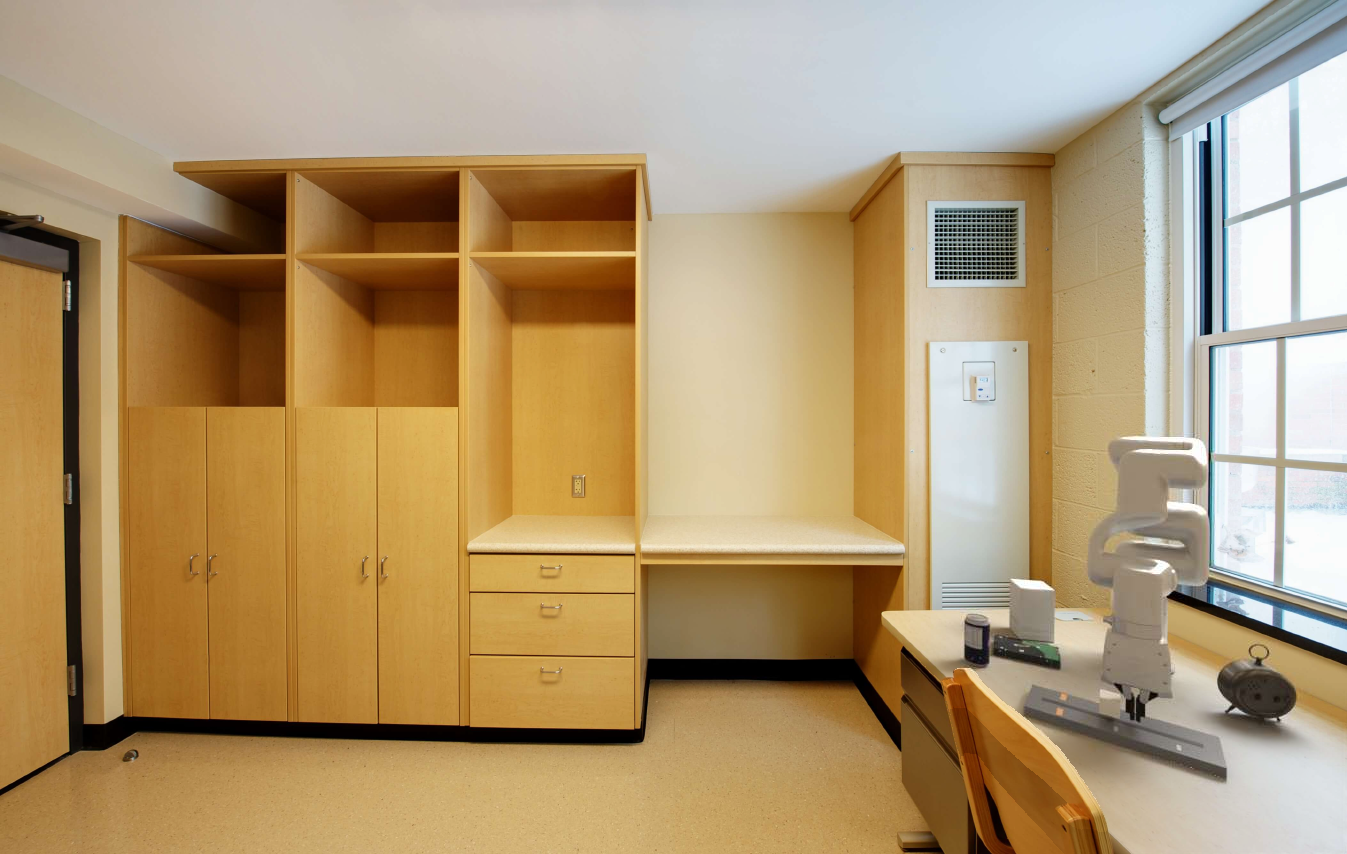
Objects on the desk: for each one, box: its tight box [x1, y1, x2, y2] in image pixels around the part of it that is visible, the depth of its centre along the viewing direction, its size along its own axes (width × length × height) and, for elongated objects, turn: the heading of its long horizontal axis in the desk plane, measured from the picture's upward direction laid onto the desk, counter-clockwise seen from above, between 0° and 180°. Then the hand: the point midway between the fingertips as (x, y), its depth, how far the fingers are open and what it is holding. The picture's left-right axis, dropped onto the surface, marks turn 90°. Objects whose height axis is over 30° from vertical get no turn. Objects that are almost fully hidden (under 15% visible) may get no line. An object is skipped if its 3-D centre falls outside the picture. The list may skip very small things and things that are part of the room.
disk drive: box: [992, 634, 1062, 670], centre depth 140 cm, size 10×3×15 cm
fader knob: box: [1098, 688, 1122, 719], centre depth 107 cm, size 4×3×4 cm
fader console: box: [1023, 683, 1228, 780], centre depth 107 cm, size 12×30×2 cm, turn 48°
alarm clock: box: [1216, 643, 1297, 726], centre depth 110 cm, size 11×5×16 cm, turn 71°
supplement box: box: [1008, 578, 1056, 643], centre depth 153 cm, size 9×9×15 cm
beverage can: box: [963, 613, 991, 668], centre depth 136 cm, size 6×6×12 cm
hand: (1135, 718), depth 105 cm, fingers closed
